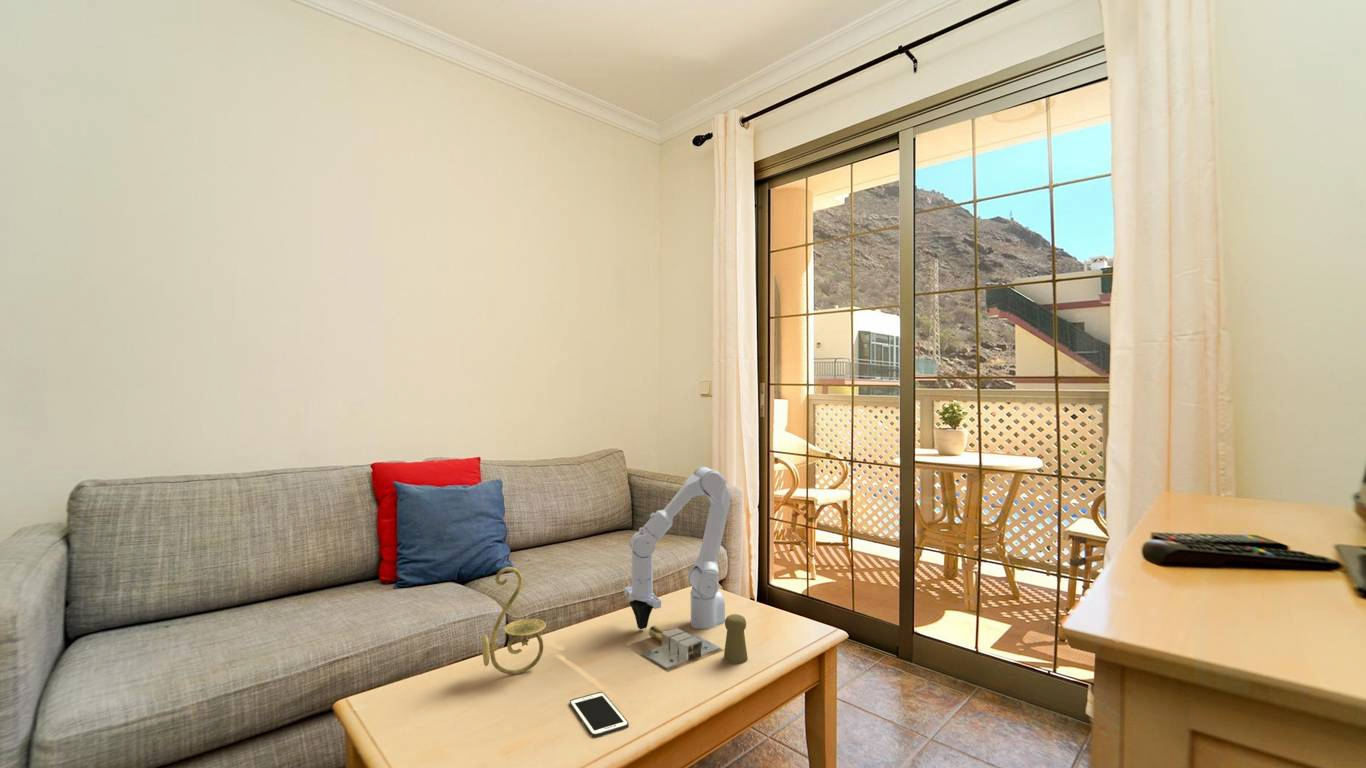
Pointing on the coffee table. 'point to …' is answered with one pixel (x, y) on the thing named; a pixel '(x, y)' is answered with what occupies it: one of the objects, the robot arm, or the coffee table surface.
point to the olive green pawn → (735, 640)
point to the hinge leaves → (679, 648)
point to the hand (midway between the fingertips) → (642, 627)
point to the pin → (656, 633)
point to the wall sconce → (513, 631)
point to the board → (653, 643)
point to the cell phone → (598, 714)
